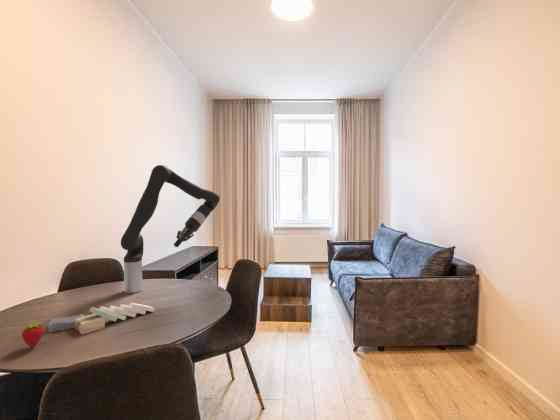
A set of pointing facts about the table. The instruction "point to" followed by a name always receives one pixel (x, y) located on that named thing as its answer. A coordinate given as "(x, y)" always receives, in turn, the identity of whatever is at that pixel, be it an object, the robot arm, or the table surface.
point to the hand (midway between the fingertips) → (175, 246)
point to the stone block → (63, 323)
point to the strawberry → (32, 334)
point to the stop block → (89, 323)
